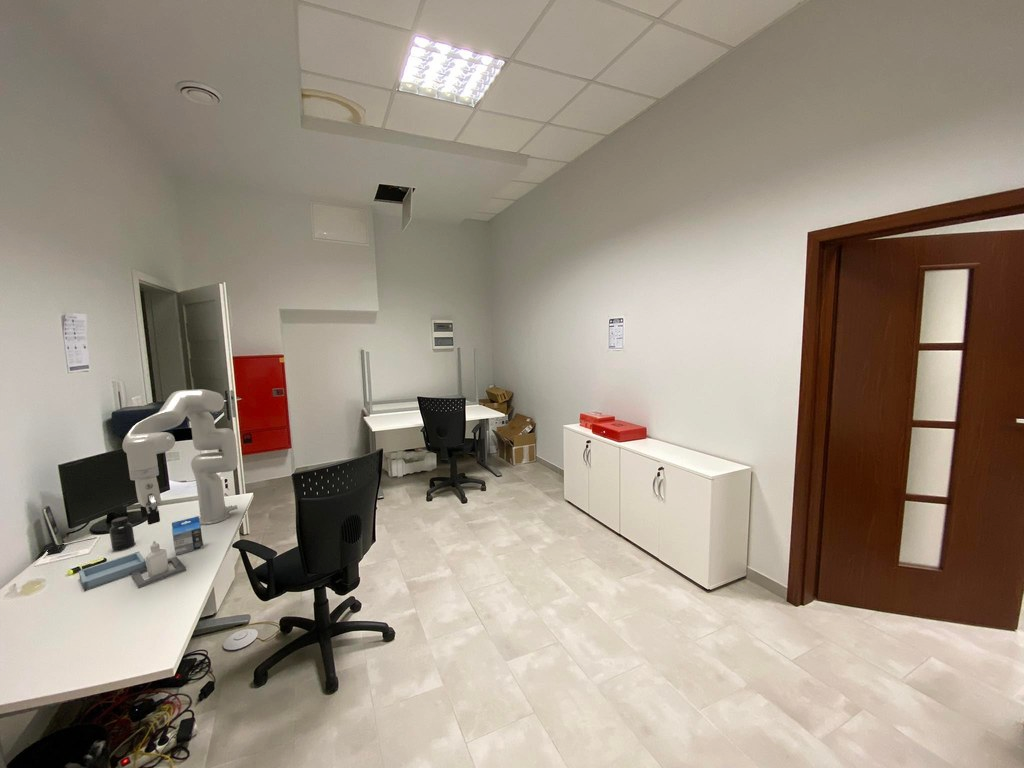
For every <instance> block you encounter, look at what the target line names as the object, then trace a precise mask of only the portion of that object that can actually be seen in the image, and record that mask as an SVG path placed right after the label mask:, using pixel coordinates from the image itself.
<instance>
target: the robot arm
mask: <svg viewBox="0 0 1024 768" xmlns="http://www.w3.org/2000/svg"><path fill="white" fill-rule="evenodd" d="M224 406H225V399H224V397H223V395H222V394H221V393H219V392H217V391H213V390H209V389H202V388H201V389H198V388H197V389H184V390H183V389H182V390H181V389H180V390H177V391H174V392H172V393H171V394H170V395H169V396H168V398H167V399H166V400H165V402H164V404H163V405H162V407H161V408H160V409H159V411H158V412H156V413H154V414H152V415H150V416H148V417H146V418H144V419H142V420H141V421H139V422H137V423H135V425H133V426H132V427H131V428H130V429H129V430H128V432H127V433H126V434H125V436H124V438H123V441H122V445H121V446H122V450H123V452H124V453H126V458H127V459H126V460H127V465H128V466H127V467H128V473H129V479H130V481H134V484H135V491H136V497H137V501H138V503H139V504H140V505H139V506H140V516H141V518H146V520H147V525H153V524H154V525H155V524H157V523H160V522H161V517H160V516H161V515H160V510H159V507H158V504H162V498H161V492H160V488H159V482H158V479H157V477H158V476H159V475H160V471H159V466H158V465H159V464H158V457H157V455H158V454H163V453H167V452H169V451H170V450H172V449H173V447H174V446H175V444H176V439H175V436H174V435H173V434H172V433H170V432H165V431H168V430H172V429H173V428H176V427H178V426H180V425H181V424H183V422H184V421H185V419H186V418H188V420H189V422H190V429H191V436H192V444H193V447H194V449H195V450H197V451H203V453H199V454H197V455H195V456H194V457H193V458H191V462H190V467H191V469H192V472H193V476H194V478H195V484H196V489H197V490H196V491H197V501H198V507H199V515H200V516H199V521H200V525H201V526H207V525H213V524H217V523H220V522H223V521H226V520H227V519H228V518H229V517H231V511H236V510H238V505H237V504H235V505H229V506H226V504H225V503H226V501H225V494H224V486H223V480H222V478H221V476H220V475H219V473H228V472H233V471H235V470H236V469H237V467H238V466H239V465H238V463H239V459H238V457H239V456H238V447H237V440H236V434H235V432H234V431H233V429H231V428H227V427H224V428H223V427H222V428H216V425H215V419H214V416H213V415H212V413H217V412H219V411H221V410H222V409H223V408H224ZM213 450H215V452H204V451H213ZM216 450H221V451H216Z"/></svg>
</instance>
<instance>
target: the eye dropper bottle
mask: <svg viewBox="0 0 1024 768" xmlns="http://www.w3.org/2000/svg"><path fill="white" fill-rule="evenodd" d="M167 559H168V554H167V550H166V549H165V548H161V547H160V543H157V541H156V540H153V541H152V544H151V545H150V552H149V553H148V554H147V555H146V556H145V561H146V566H147V571H148V572H147V576H148V577H150V578H152V577H154V576H157V575H160V574H163V573H165V572H168V571H169V564H168V560H167Z"/></svg>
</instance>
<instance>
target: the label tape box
mask: <svg viewBox="0 0 1024 768" xmlns="http://www.w3.org/2000/svg"><path fill="white" fill-rule="evenodd" d="M199 518H200V516H194V517H193V516H192V517H190V518H185V519H182V520H177V521H173V522H171V527H172V528H171V532H172V533H171V534H172V541H173V547H174V554H175V556H178V555H181V554H185V553H188V552H193V551H195V550H198V549H203V548H204V541H203V535H202V528H201V527H202V525H200V521H199Z"/></svg>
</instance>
